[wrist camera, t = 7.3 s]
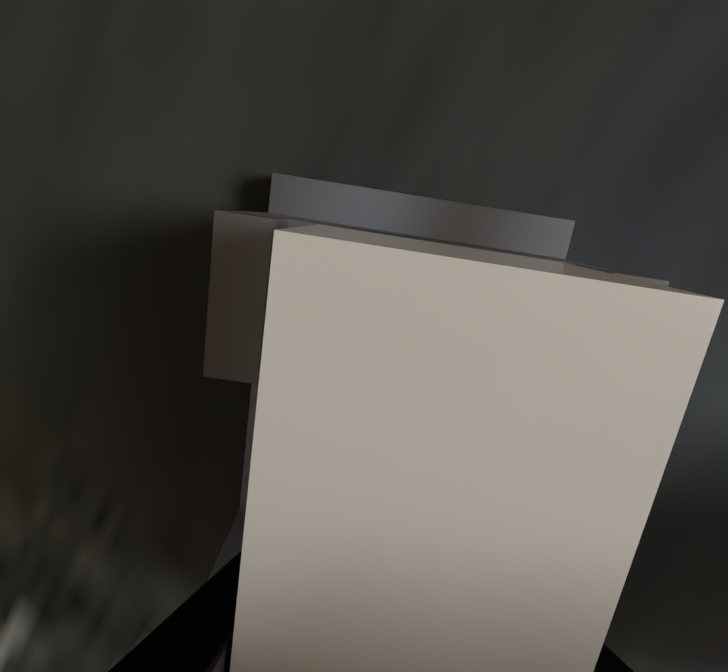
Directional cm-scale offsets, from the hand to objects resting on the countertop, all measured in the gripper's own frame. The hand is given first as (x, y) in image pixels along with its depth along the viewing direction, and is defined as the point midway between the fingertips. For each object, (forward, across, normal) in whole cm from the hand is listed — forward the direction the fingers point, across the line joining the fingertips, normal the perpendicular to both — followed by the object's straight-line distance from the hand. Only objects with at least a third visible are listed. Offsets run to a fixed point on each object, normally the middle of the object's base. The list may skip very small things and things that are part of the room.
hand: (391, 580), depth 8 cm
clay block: (+2, 0, 0) cm, 2 cm away
